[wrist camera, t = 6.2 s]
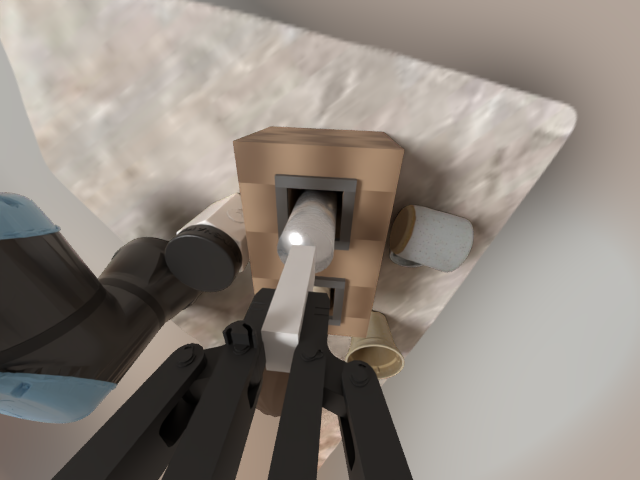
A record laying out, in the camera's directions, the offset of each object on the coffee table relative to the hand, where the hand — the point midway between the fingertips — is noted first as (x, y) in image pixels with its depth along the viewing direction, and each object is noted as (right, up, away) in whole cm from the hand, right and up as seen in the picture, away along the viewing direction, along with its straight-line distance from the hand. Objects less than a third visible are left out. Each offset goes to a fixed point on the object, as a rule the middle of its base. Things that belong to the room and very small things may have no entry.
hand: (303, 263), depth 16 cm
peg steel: (+1, +6, +11) cm, 12 cm away
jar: (-12, +5, +22) cm, 25 cm away
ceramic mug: (+16, +3, +20) cm, 26 cm away
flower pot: (+11, -14, +31) cm, 36 cm away
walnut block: (+1, +5, +20) cm, 21 cm away
